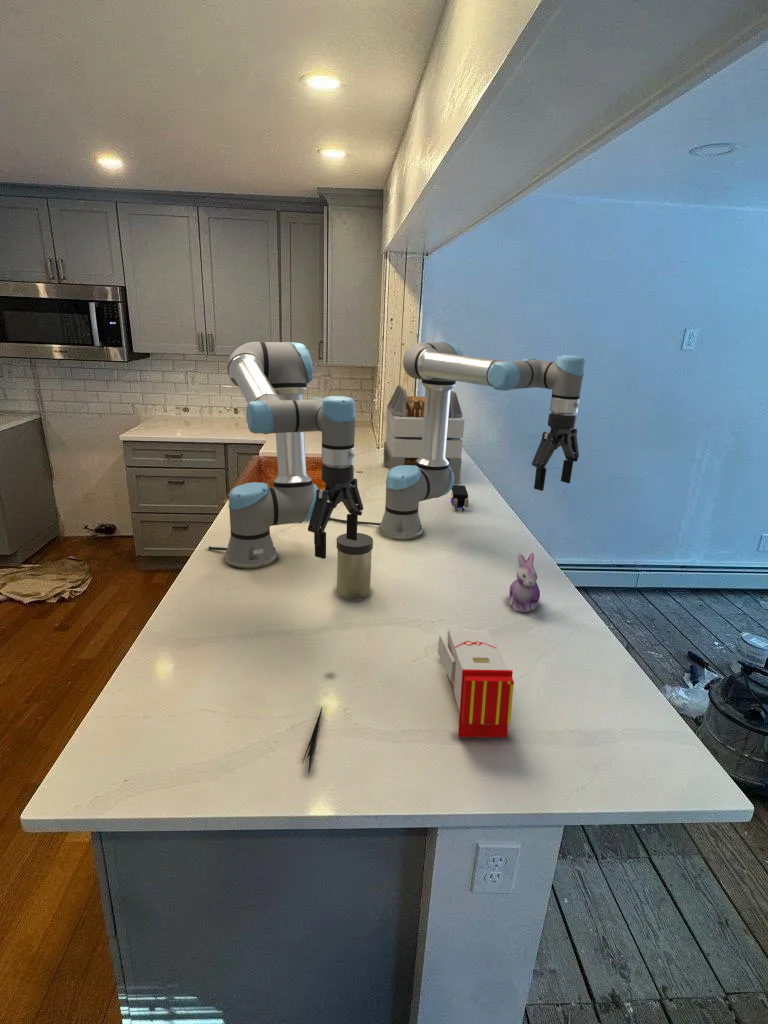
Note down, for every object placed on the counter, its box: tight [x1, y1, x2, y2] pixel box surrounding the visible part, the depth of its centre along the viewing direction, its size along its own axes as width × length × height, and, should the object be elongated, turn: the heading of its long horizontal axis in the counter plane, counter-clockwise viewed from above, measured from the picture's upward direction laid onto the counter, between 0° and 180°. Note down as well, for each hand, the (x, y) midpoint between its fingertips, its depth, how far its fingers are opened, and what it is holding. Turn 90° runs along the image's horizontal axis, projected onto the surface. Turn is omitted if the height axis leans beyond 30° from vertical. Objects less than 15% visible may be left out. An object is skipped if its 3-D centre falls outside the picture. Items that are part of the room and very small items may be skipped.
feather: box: [301, 673, 332, 771], centre depth 108 cm, size 2×28×2 cm
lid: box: [335, 532, 374, 554], centre depth 153 cm, size 10×10×2 cm
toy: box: [437, 628, 515, 738], centre depth 117 cm, size 12×13×30 cm
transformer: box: [383, 384, 465, 484], centre depth 268 cm, size 34×33×41 cm
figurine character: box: [449, 484, 470, 512], centre depth 229 cm, size 7×8×15 cm
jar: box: [336, 548, 373, 601], centre depth 155 cm, size 9×9×16 cm
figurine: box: [508, 552, 541, 613], centre depth 152 cm, size 9×10×15 cm
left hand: (336, 547), depth 139 cm, fingers open, 13 cm apart
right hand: (552, 485), depth 166 cm, fingers open, 13 cm apart
